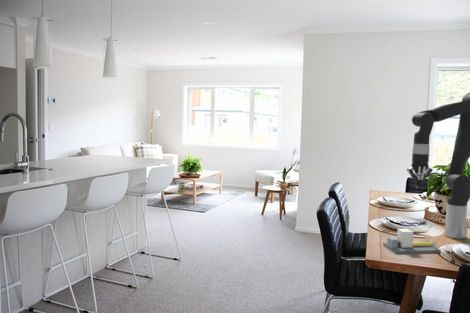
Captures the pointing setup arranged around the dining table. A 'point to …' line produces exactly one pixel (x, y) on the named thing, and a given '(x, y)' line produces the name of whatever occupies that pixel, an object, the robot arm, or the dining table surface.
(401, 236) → the sleeve
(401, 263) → the dining table surface
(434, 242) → the linear slide rail
